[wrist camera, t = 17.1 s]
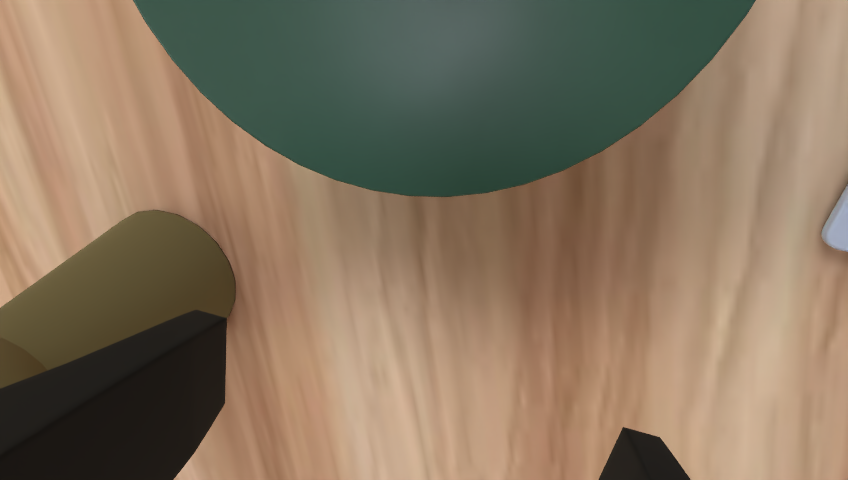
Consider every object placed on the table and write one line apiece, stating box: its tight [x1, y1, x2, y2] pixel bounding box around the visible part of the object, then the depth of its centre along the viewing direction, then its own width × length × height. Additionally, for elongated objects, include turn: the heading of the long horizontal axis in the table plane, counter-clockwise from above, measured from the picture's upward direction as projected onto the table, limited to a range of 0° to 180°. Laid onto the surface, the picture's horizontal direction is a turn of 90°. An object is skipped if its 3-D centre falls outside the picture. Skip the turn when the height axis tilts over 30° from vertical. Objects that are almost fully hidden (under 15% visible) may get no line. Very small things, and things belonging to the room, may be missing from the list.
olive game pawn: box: [0, 210, 235, 388], centre depth 17 cm, size 6×6×11 cm
